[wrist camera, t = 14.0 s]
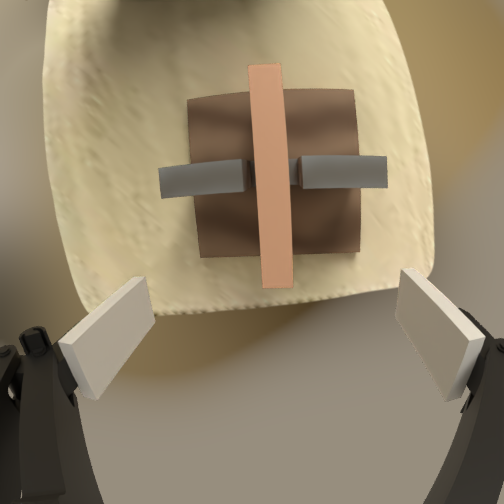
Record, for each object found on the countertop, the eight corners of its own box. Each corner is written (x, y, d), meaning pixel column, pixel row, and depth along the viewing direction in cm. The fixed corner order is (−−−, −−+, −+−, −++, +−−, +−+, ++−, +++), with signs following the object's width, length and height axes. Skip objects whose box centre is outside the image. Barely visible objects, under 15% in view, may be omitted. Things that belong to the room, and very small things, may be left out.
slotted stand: (190, 102, 32) (143, 72, 19) (350, 92, 30) (386, 55, 17) (203, 254, 38) (165, 298, 25) (357, 248, 35) (392, 291, 23)
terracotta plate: (259, 99, 30) (247, 65, 19) (281, 98, 30) (280, 63, 18) (269, 248, 35) (262, 288, 24) (289, 247, 35) (293, 287, 23)
